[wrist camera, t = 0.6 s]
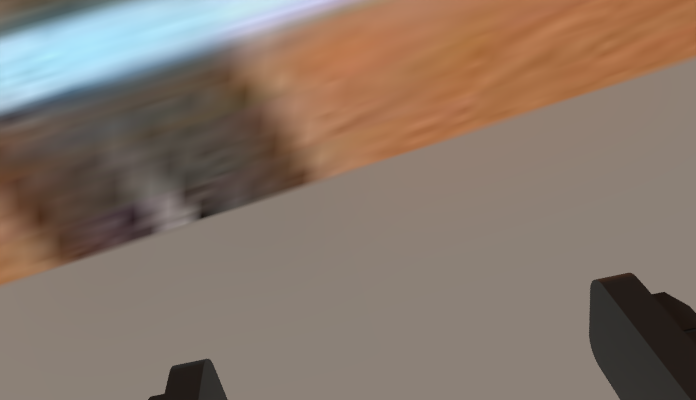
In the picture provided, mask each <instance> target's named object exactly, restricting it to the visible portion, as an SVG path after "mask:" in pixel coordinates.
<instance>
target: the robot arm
mask: <svg viewBox="0 0 696 400" xmlns="http://www.w3.org/2000/svg"><path fill="white" fill-rule="evenodd" d="M590 289H591V290H590V324H589V325H590V326H589V338H590V344H591V348H592V351H593V354H594V357H595V359H596V361H597V363H598V365H599V367H600V368H601V370H602V372H603V373H604V375H605V376H606V378H607V379H608V381H609V383H610V384H611V386H612V387H613V389H614V390H615V392H616V393H617V395H618V397H619V398H620V400H696V313H695V312H694V311H693V310H692V309H691V307H690V306H688V305H686V304H685V303H683V302H681V301H679V300H677V299H676V298H674V297H672V296H670V295H668V294H667V293H665V292H662V293H657V294H651V293H650V292H649V291H648V290H647V288H646V287H645V286H644V285H643V284H642V283H641V282H640V280H639V279H638V278H637V277H636V276H635V275H634V274H632V273H625V274H621V275H616V276H611V277H606V278H602V279H596V280H593V281H592V283H591V288H590ZM148 400H227V397H226V395H225V392H224V390H223V387H222V385H221V383H220V380H219V378H218V375H217V373H216V370H215V368H214V365H213V363H212V362H211V360H209V359H204V360H199V361H195V362H190V363H184V364H180V365H175V366H172V368H171V370H170V373H169V377H168V381H167V386H166V390H165V394H161V395H157V396H152V397H150V398H149V399H148Z"/></svg>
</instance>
